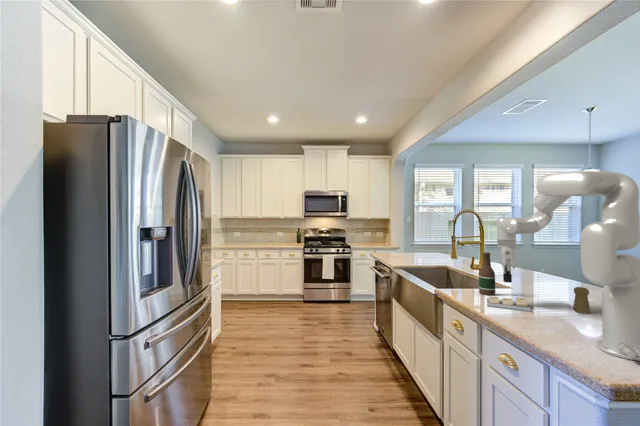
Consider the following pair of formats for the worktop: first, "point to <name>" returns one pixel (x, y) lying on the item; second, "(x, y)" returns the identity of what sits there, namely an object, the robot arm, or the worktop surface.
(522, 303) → the key
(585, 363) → the worktop surface
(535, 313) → the worktop surface
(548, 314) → the worktop surface
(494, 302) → the key
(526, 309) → the board
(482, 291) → the beer bottle
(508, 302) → the key
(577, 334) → the worktop surface
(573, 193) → the robot arm
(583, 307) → the cork
